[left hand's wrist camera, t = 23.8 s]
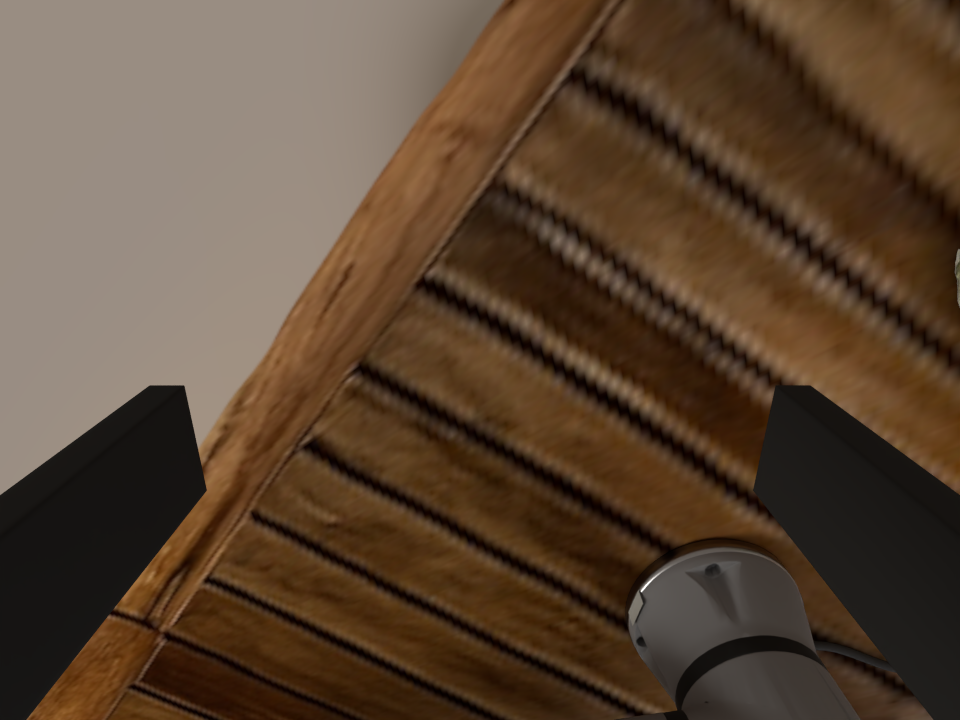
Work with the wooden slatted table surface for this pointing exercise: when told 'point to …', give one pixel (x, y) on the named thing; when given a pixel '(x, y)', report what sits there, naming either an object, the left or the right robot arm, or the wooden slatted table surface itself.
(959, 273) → the fossil
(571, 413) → the wooden slatted table surface
